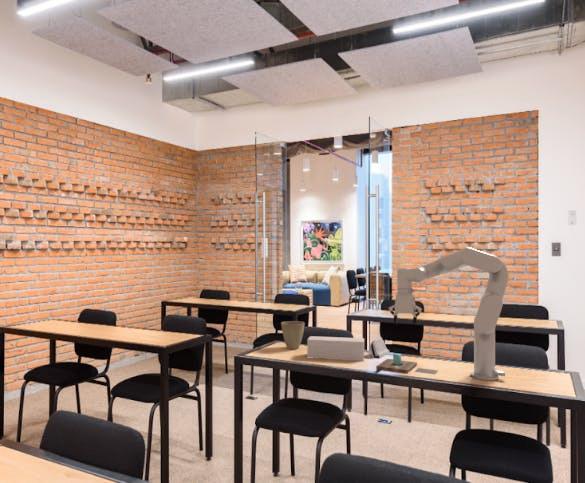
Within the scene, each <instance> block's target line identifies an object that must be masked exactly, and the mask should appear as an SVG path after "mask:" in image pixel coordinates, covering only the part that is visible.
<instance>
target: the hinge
mask: <svg viewBox="0 0 585 483" xmlns="http://www.w3.org/2000/svg"><path fill="white" fill-rule="evenodd" d="M369 350H370V355H371V357H372V358H375V357H379V359H381V358H384V357H386V356H387V355H389V354H390V353H391V352H390V350H389V349H388V348H387V346H386V343H385V340H383V339H375V340H373V341H371V342H370V343H369Z"/></svg>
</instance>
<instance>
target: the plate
mask: <svg viewBox="0 0 585 483" xmlns="http://www.w3.org/2000/svg"><path fill="white" fill-rule="evenodd" d="M414 372H415V373H421V374H430V375H436V374H437V373H438V372H439V370H437V369H429V368H421V367H418V368H417V369H416V370H415V371H414Z"/></svg>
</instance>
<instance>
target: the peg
mask: <svg viewBox="0 0 585 483" xmlns="http://www.w3.org/2000/svg"><path fill="white" fill-rule="evenodd" d="M392 359H393V365H396V366H401V361H402V354H401V353H392Z"/></svg>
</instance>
